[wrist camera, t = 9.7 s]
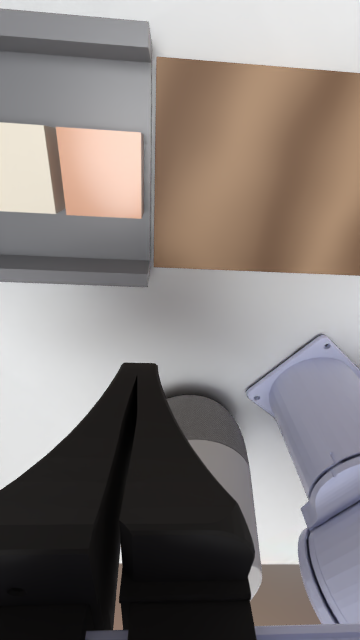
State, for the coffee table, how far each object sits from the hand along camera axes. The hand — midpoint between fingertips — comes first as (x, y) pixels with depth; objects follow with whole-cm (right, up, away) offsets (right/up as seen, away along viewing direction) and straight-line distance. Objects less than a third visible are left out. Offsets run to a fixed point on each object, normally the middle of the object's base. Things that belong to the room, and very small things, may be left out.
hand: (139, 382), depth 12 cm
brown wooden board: (+8, +11, +6) cm, 15 cm away
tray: (-6, +11, +5) cm, 13 cm away
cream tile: (-7, +11, +5) cm, 14 cm away
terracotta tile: (-2, +11, +5) cm, 12 cm away
